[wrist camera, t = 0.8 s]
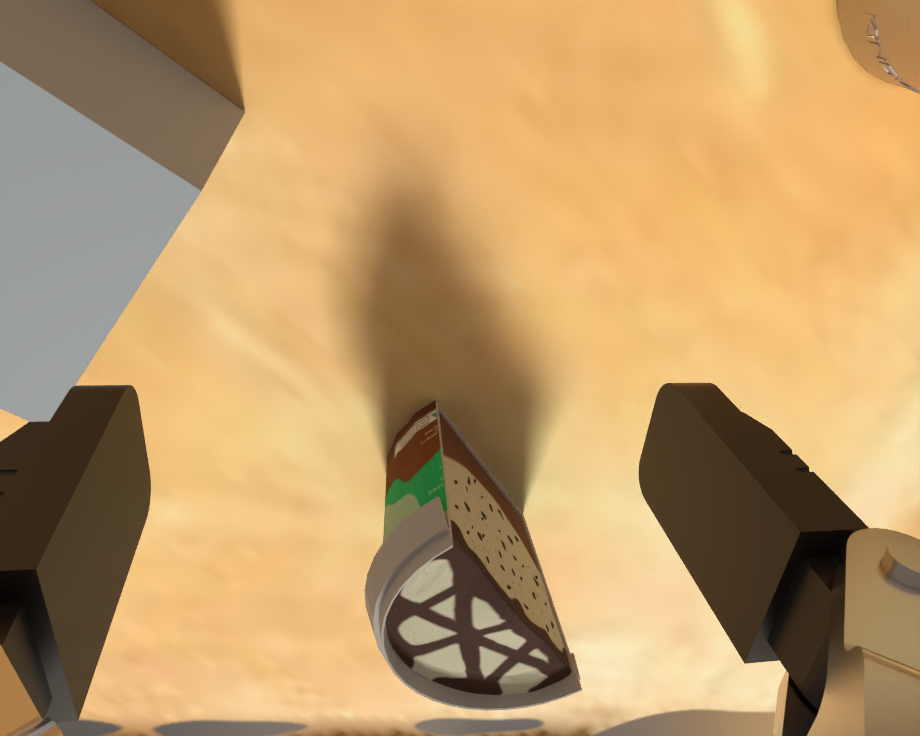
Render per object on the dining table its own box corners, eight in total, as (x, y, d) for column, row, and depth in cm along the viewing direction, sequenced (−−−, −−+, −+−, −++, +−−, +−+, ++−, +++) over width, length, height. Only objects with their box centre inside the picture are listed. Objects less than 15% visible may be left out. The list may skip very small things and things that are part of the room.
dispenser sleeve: (-6, -69, 21) (-201, -68, 14) (245, 112, 25) (201, 190, 17) (-110, 164, 24) (-316, 270, 17) (127, 294, 28) (46, 428, 20)
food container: (310, 440, 33) (298, 613, 25) (419, 378, 32) (444, 537, 24) (441, 577, 40) (466, 751, 31) (534, 529, 39) (587, 696, 30)
